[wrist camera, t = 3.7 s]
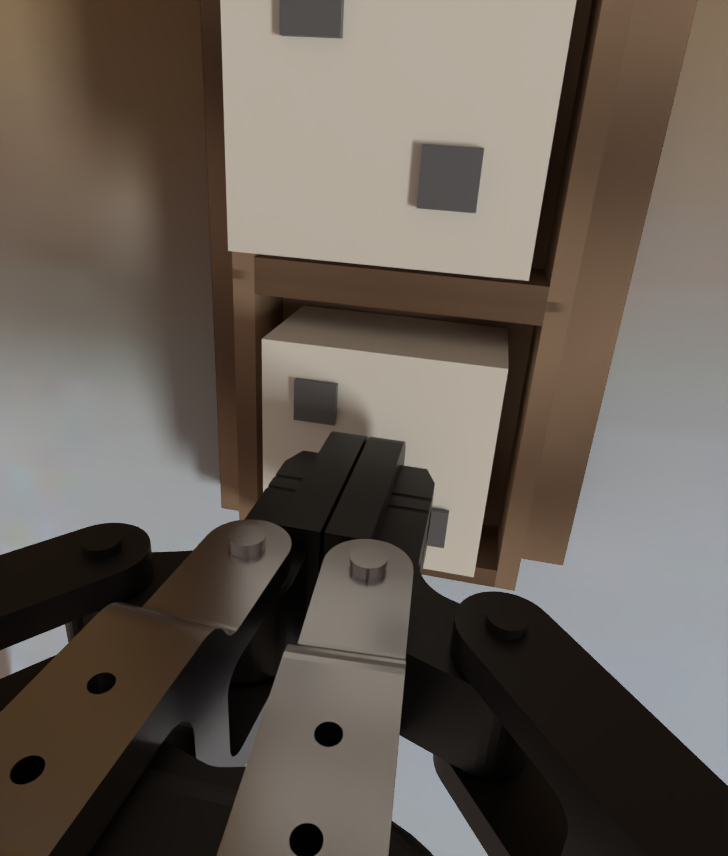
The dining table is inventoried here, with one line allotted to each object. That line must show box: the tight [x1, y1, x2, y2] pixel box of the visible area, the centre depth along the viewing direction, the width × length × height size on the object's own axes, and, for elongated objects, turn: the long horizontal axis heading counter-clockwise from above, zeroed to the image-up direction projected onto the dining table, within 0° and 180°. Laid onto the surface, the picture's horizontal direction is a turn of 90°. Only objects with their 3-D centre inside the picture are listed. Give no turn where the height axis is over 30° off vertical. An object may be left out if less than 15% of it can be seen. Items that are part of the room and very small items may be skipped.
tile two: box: [220, 0, 577, 281], centre depth 10 cm, size 5×5×3 cm
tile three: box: [262, 306, 508, 577], centre depth 15 cm, size 5×5×3 cm
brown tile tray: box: [200, 0, 698, 591], centre depth 13 cm, size 22×10×3 cm, turn 177°
